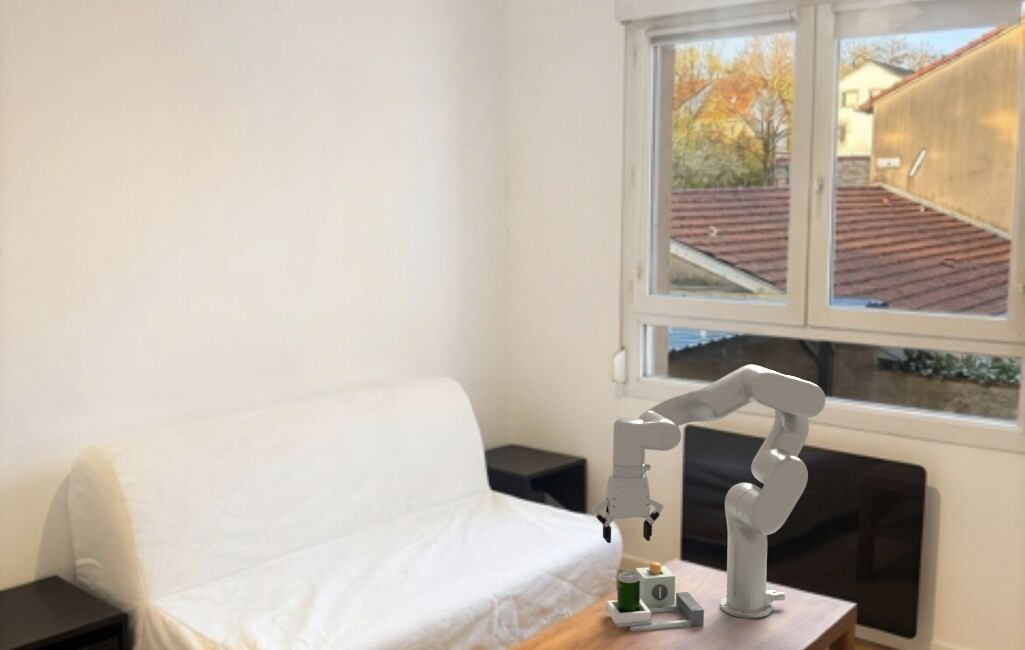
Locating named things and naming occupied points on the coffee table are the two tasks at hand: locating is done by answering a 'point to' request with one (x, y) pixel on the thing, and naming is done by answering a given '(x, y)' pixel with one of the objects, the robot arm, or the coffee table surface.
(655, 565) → the button
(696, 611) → the rail track
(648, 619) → the frame
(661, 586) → the pale green hollow cube
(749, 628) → the coffee table surface
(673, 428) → the robot arm
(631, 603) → the beer can
